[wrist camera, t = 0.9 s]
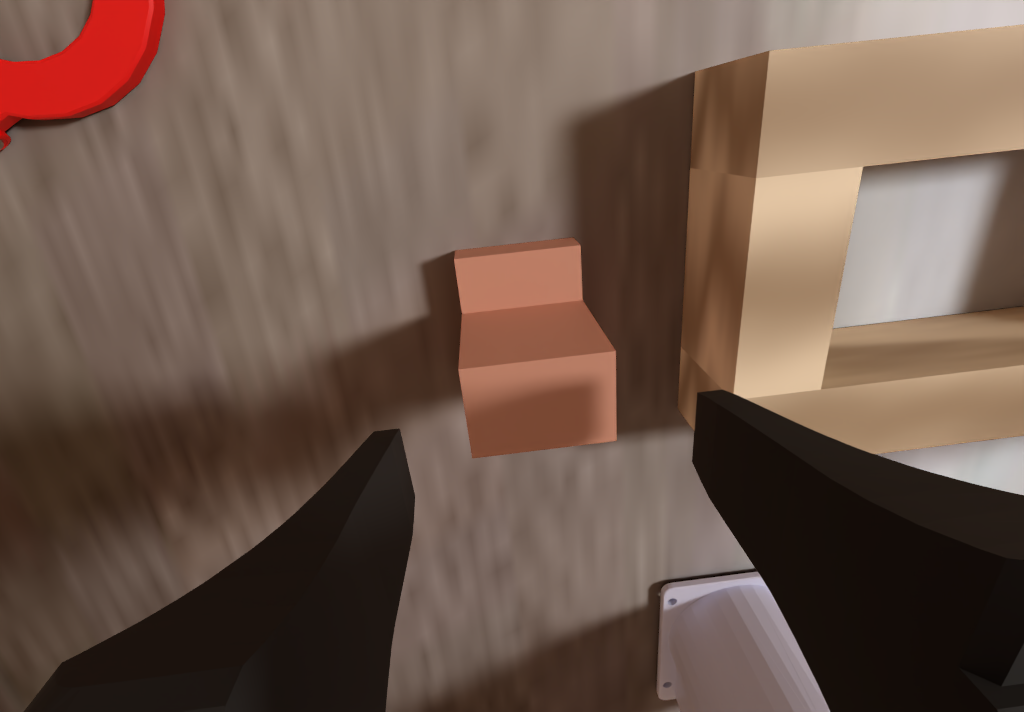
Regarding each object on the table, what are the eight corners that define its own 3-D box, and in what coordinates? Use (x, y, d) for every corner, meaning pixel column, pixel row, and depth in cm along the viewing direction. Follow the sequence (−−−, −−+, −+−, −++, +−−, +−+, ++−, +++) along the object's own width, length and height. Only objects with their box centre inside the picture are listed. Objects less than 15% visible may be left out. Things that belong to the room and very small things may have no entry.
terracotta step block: (578, 358, 20) (616, 440, 15) (472, 370, 20) (472, 458, 15) (573, 237, 18) (615, 281, 13) (455, 250, 18) (447, 300, 13)
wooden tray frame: (1092, 358, 22) (1231, 409, 18) (677, 409, 22) (725, 472, 18) (1242, 14, 17) (1491, -24, 13) (695, 71, 16) (769, 50, 12)
